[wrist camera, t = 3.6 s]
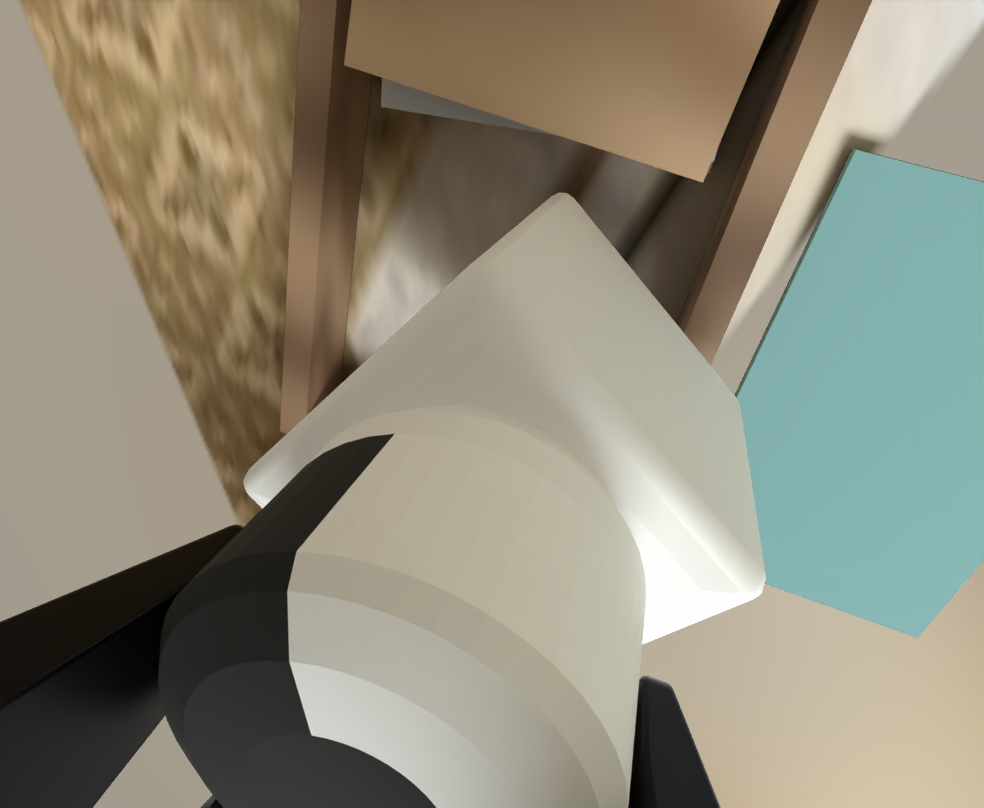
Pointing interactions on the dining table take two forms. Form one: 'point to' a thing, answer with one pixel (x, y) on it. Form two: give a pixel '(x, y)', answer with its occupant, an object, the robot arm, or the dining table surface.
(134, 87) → the dining table surface
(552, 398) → the medicine bottle
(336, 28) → the offcut rack
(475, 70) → the top offcut plank
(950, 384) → the teal mat
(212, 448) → the dining table surface
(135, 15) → the dining table surface
